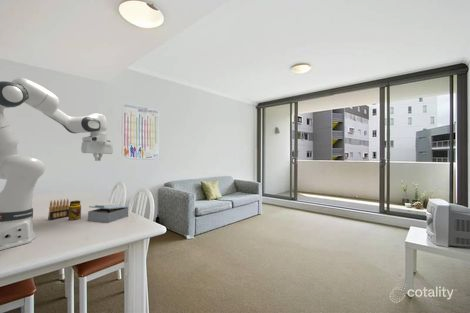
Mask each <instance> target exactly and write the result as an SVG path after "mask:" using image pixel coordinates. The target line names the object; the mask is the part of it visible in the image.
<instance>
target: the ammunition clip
mask: <svg viewBox="0 0 470 313" xmlns="http://www.w3.org/2000/svg"><path fill="white" fill-rule="evenodd" d="M69 206H70V201H69V198H63V200H62V199H60V201H59V199H57V201H56V200H55V199H54V200H53V201H52V200H50V201H49V206H48V207H49V210H48V218H47V219H48V221H54V220H59V219H65V218H69Z"/></svg>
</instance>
